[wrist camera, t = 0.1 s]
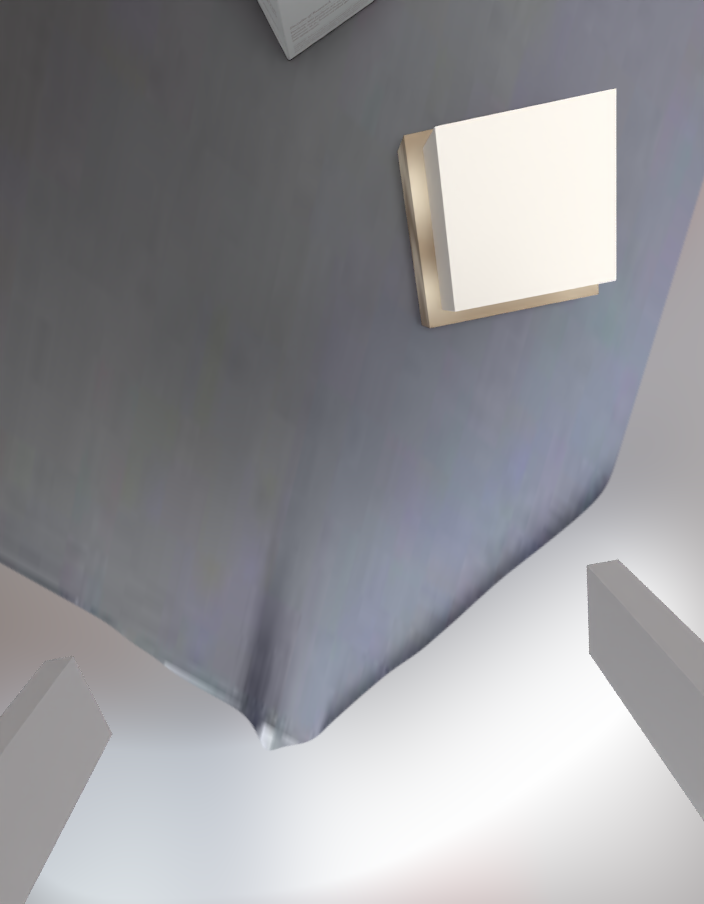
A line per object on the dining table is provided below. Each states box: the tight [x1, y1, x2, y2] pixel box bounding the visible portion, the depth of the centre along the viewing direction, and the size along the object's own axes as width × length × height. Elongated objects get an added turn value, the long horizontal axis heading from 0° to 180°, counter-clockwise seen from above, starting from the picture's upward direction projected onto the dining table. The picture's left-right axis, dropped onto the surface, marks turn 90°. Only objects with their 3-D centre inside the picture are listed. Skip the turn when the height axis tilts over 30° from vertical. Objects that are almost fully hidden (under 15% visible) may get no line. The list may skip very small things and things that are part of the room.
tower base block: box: [398, 129, 598, 328], centre depth 33 cm, size 12×12×4 cm
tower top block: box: [423, 89, 616, 312], centre depth 29 cm, size 10×10×4 cm
